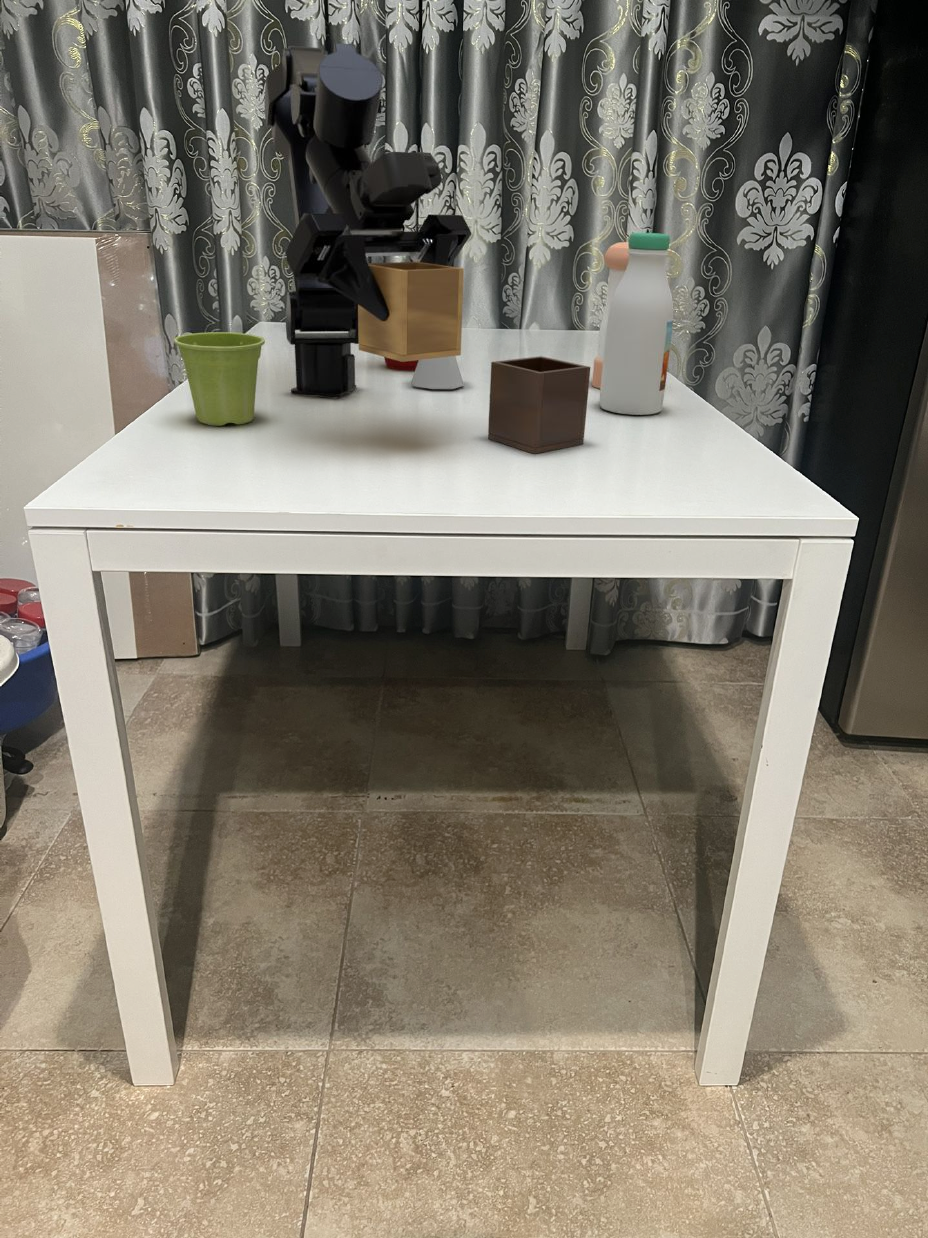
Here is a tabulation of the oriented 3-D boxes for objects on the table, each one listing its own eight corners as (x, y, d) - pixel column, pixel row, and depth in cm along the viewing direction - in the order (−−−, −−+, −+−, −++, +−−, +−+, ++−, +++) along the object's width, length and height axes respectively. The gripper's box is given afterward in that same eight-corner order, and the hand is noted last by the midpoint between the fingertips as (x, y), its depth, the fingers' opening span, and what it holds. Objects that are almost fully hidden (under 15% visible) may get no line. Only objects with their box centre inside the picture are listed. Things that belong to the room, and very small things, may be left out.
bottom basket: (487, 438, 96) (491, 361, 93) (536, 429, 101) (541, 355, 97) (534, 454, 91) (540, 373, 88) (583, 444, 96) (590, 366, 92)
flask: (458, 392, 117) (460, 311, 113) (404, 388, 118) (404, 308, 114) (469, 382, 124) (471, 305, 119) (417, 378, 125) (418, 302, 120)
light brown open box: (358, 349, 89) (357, 263, 86) (416, 344, 94) (417, 261, 90) (402, 361, 84) (402, 270, 81) (461, 355, 89) (464, 268, 85)
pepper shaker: (609, 392, 120) (625, 236, 112) (582, 382, 126) (595, 233, 118) (655, 390, 123) (674, 237, 115) (626, 379, 129) (642, 233, 121)
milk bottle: (648, 419, 107) (670, 235, 98) (588, 409, 110) (605, 231, 102) (671, 408, 113) (694, 234, 104) (613, 399, 116) (631, 230, 108)
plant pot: (285, 415, 103) (280, 336, 99) (240, 434, 95) (234, 348, 91) (213, 407, 105) (206, 329, 102) (164, 424, 97) (155, 340, 93)
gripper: (295, 109, 77) (371, 259, 75) (462, 124, 88) (533, 254, 86) (256, 206, 86) (323, 343, 83) (412, 209, 97) (476, 329, 95)
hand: (418, 315), depth 87 cm, fingers closed on light brown open box, 7 cm apart
